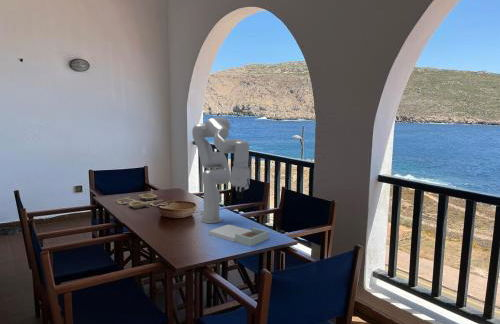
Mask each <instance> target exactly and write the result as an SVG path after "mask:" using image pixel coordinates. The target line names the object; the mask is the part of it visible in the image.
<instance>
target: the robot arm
mask: <svg viewBox="0 0 500 324" xmlns="http://www.w3.org/2000/svg"><path fill="white" fill-rule="evenodd" d="M230 129H231V123H230V120H229V119H228V118H227V117H226V118H225V117H211V118H208V119H207V120H206V122H205V123H198V124H195V125H193V127H192V130H191V134H192V135H191V136H192V138H193V139H192V140H193V143H194V144H195V145H196V148H197V152H198V155H199V160H200V162H201V167H203V168H205V169H206V170H204V171H203V172H202V175H201V179H202V185H203V211H201V212H200V213H199V215H200V216H201V218H200V221H201V222H202V223H205V224H217V223H221V222H222V221H223V218H222V217H220V203H221V202H220V199H221V197H220V189H219V188H218V186H217V185H223V184H224V185H225V184H228V183H230V184H231V186H232V187H233V188H234V189H235V192H236V199H238V200H240V199H243V197H244V191H245V190H248V189H249V188H250V187H249V186H250V184H251V183H250V181H251V180H250V179H251V178H250V177H251V175H250V174H251V173H250V167H249V159H250V158H249V155H250V142H248V141H247V140H246V141H245V140H243V139H240V138H228V136H229V134H230V132H229V131H230ZM206 138H213V144H214V146H215V148H216V149H217V150H218V151H215V152H214V150H213V148H212V147H213V146H212V144H211V143H210V141H209V140H207V139H206ZM225 154H234V155H233V161H232V164H233V166H232V167H231V171H230V167H229V164H228V163H229V162H228V159H227V157H226V155H225Z"/></svg>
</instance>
